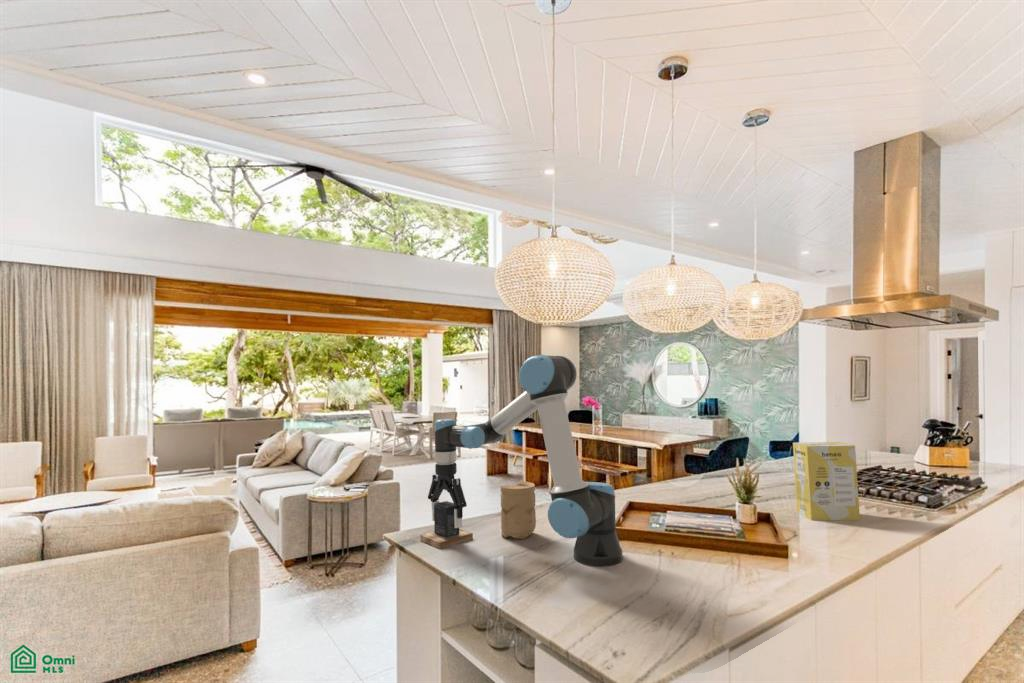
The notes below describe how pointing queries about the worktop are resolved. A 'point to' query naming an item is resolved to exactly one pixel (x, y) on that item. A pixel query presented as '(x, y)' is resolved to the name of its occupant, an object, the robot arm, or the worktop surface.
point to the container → (518, 510)
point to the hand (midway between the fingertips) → (446, 523)
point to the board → (445, 539)
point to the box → (445, 519)
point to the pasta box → (826, 481)
